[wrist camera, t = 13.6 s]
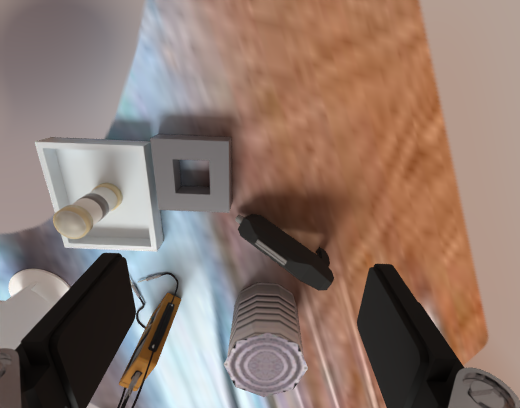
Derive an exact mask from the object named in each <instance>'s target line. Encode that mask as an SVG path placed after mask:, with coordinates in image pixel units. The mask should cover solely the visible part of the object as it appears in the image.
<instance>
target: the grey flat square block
mask: <svg viewBox="0 0 520 408" xmlns="http://www.w3.org/2000/svg"><path fill="white" fill-rule="evenodd" d="M150 143H151V151H152V159H153V167H154V175H155V184H156V192H157V200H158V208H159V210H176V211H202V212H227V213H229V212H230V209H231V205H232V157H231V137H218V136H192V135H166V134H158V135H156V136H154V137H152V138H150ZM179 160H204V161H209V173H210V187H198V186H181V174H180V162H179Z"/></svg>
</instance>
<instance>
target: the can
mask: <svg viewBox="0 0 520 408" xmlns="http://www.w3.org/2000/svg"><path fill="white" fill-rule="evenodd" d="M224 366H225V368H226V370H227V371H228V373H229V375H230V377H231V379H232V381H233V383H234V385H235V387H237V388H240V389H243V390H246V391H249V392H251V393H254V394H257V395H260V396H263V397H265V396H269V395H273V394H277V393H281V392H285V391H289V390H293V389H294V388H295V386H296V385H297V383H298V382H299V380H300V379H301V377H302V376H303V375H304V373H305V372H306V370H307V369H308V367H307V365H306V362H305V360H304V356H303V348H302V341H301V333H300V326H299V318H298V311H297V306H296V303H295V299H294V296H293V294H292V293H291V292H289V291H288V290H286V289H285V288H283V287H282V286H280V285H279V284H273V283H256V284H254V285H252V286H250V287H248V288H246V289H244V290H242V291H241V292H240V294H239V297H238V299H237V301H236V304H235V306H234V313H233V321H232V328H231V335H230V342H229V349H228V357H227V359H226V361H225V363H224Z"/></svg>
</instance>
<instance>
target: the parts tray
mask: <svg viewBox="0 0 520 408" xmlns="http://www.w3.org/2000/svg"><path fill="white" fill-rule="evenodd" d="M35 145H36V149H37V152H38V155H39V159H40V163H41V166H42V169H43V173H44V177H45V180H46V184H47V187H48V191H49V194H50V197H51V201H52V204H53V208H54V211H55V213H56V212H57V211H59V210H60V209H62V208H63V207H65V206H67V205H71V204H73V203H74V202H76V201H77V200H78V199H80V198H81V197H83V196H84V195H86V194H88V193H90V192H91V191H92V190H93V189H94V188H95V187H96V186H98V185H99V184H101V183H111V184H113V185H115V186H117V187H118V188H119V189H120V191H121V193H122V195H123V201H122V203H121V204H120V205H119V206H118V207H117V208H116V209H115V210H113V211H110V212H109V213H108V214H107V215H106V216H105V217H104V218H103V219H101V220H100V221H99V222H97V223H96V224H95V225H94V226H93V228H92V229H91V230H90V231H89V232H88V233H87V234H86V235H85V236H84V237H82V238H79V239H71V238H68V237H65V236H63V235H62V234H61V236H62V239H63V243H64V246H65V248H84V249H109V250H134V251H158V249H159V248H160V246H161V245H162V243H163V241H164V239H163V231H162V222H161V214H160V210H159V208H158V200H157V192H156V184H155V175H154V167H153V159H152V151H151V143H150V141H132V140H107V139H79V138H54V137H50V138H46V139H43V140H39V141H35Z"/></svg>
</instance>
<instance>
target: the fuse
mask: <svg viewBox="0 0 520 408" xmlns="http://www.w3.org/2000/svg"><path fill="white" fill-rule="evenodd" d="M122 201H123V195H122V193H121V191H120V189H119V188H118V187H117V186H115V185H113V184H111V183H101V184H99V185H98V186H96V187H95V188H94V189H93V190H92V191H91V192H90V193H88V194H86V195H84V196H83V197H81V198H80V199H78V200H77V201H76V202H74V203H73V204H71V205H67V206H65V207H63V208H62V209H60V210H59V211H57V212H56V213H55V214H54V217H53V223H54V226H55V228H56V229H57V231H58V232H59V233H61V234H62V235H63V236H65V237H68V238H71V239H79V238H82V237H84V236H85V235H86V234H87V233H88V232H89V231H90V230H91V229H92V228H93V226H94V225H95V224H96V223H97V222H99V221H100V220H101V219H103V218H104V217H105V216H106V215H107V214H108V213H109V212H110V211H113V210H115V209H116V208H117V207H118V206H119V205H120V204H121V203H122Z"/></svg>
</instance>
